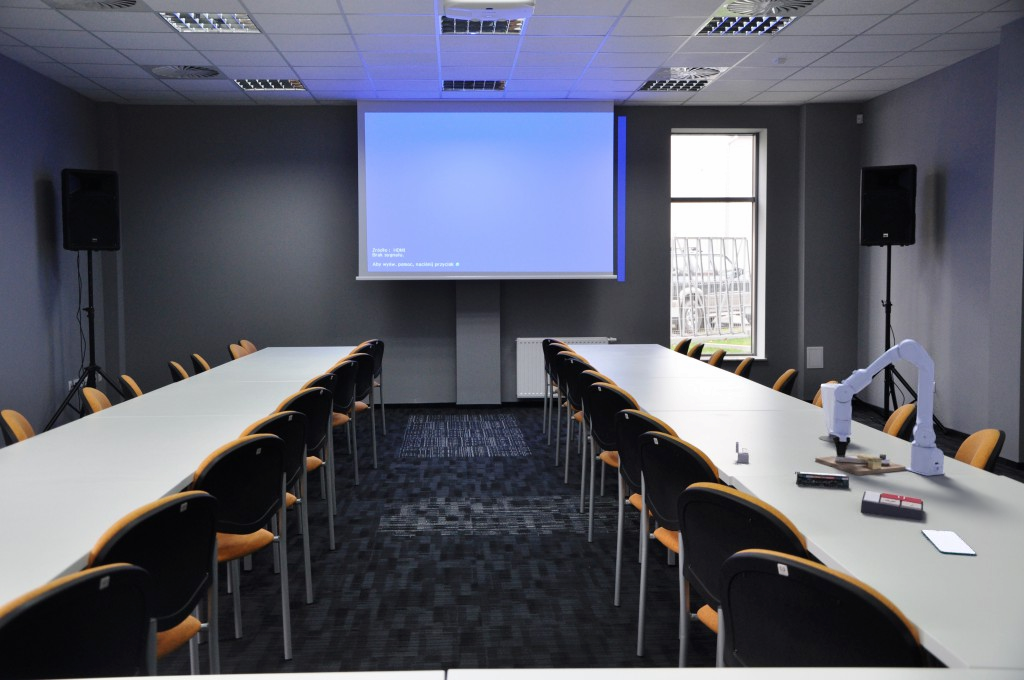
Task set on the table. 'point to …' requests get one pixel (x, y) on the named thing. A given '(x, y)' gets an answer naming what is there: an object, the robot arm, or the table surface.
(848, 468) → the base plate
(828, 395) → the cup
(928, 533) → the smartphone
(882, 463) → the grey link
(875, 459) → the wooden block
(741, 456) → the architectural model
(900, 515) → the dark grey box
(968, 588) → the table surface
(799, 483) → the black flat case
